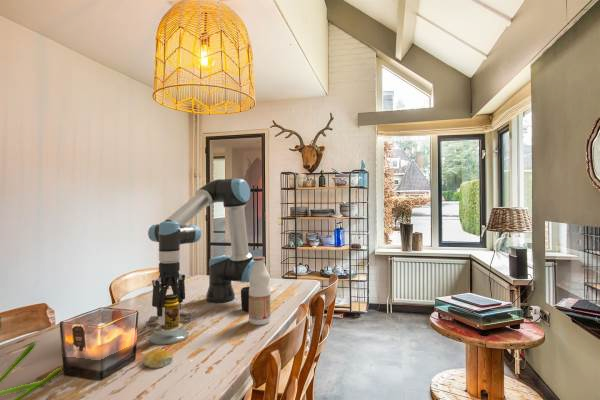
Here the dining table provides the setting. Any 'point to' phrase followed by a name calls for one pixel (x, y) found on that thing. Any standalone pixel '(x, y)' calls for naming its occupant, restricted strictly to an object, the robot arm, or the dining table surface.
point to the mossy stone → (158, 358)
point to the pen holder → (245, 299)
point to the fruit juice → (259, 293)
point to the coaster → (168, 336)
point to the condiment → (171, 313)
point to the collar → (152, 323)
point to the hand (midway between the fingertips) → (169, 321)
